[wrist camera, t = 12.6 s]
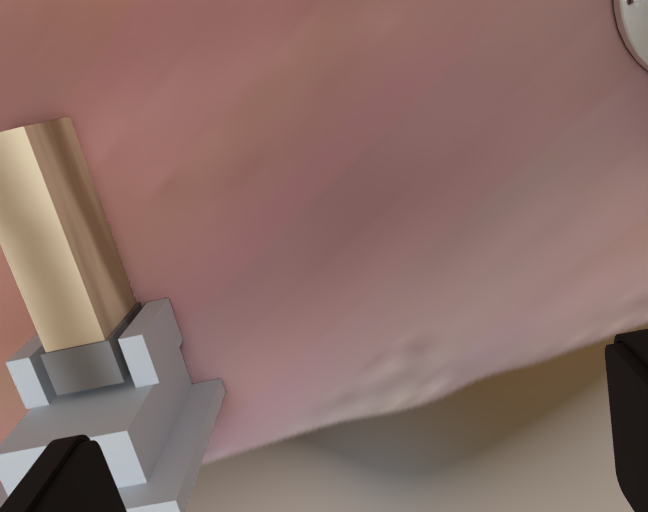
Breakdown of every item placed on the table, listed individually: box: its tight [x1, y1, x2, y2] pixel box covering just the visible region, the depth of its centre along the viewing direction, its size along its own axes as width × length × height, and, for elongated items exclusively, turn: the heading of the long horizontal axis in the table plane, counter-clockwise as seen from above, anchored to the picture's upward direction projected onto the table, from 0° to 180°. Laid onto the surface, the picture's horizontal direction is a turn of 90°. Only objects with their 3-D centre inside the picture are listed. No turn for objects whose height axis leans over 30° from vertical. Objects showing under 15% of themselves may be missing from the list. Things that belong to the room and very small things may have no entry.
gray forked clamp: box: [0, 298, 226, 512], centre depth 38 cm, size 8×13×13 cm, turn 103°
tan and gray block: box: [0, 116, 142, 396], centre depth 39 cm, size 5×16×6 cm, turn 13°
